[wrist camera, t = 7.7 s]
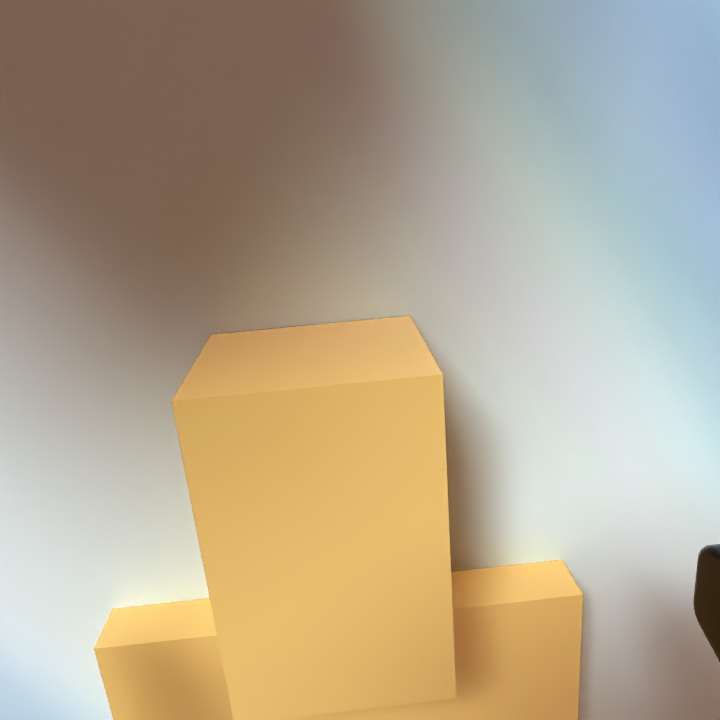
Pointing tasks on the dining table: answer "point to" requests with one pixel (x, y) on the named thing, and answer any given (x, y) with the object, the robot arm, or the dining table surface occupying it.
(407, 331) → the lid
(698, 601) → the robot arm
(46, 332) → the dining table surface
